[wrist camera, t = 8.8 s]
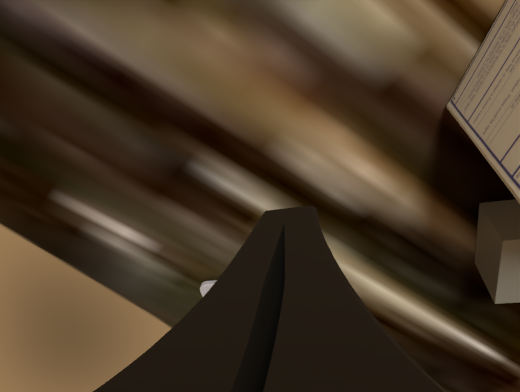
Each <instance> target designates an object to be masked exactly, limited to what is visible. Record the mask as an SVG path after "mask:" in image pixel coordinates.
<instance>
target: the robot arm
mask: <svg viewBox="0 0 520 392" xmlns="http://www.w3.org/2000/svg"><path fill="white" fill-rule="evenodd" d="M200 292H201V294H202V297H203V298H202V299H201V300H200V301H199V302H198V303H197V304H196V305H195V306H194V307H193V308H192V309H191V311H190V312H189V313H188V314H187V315H186V316H185V317H184V318H183V319H182V320H181V321H180V322H178V323H177V324H176V325H175V326H174V327H173V328H172V329H171V330H170V331H169V332H167V333H166V334H165V335H164V336H163V337H162V338H161V339H160V340H159V341H158V342H156V343H155V344H154V345H153V346H152V347H151V348H150V349H148V350H147V351H146V352H145V353H144V354H142V355H141V356H140V357H139V358H137V359H136V360H135V361H134V362H132V363H131V364H130V365H129V366H127V367H126V368H125V369H123V370H122V371H121V372H119V373H118V374H117V375H115V376H114V377H113V378H112V379H110V380H109V381H107V382H106V383H105V384H104V385H102V386H101V387H99V388H98V389H96V390H95V391H93V392H447V391H445V390H444V389H443V388H442V387H441V386H440V385H439V384H438V383H437V382H436V381H434V380H433V379H432V378H431V377H430V376H429V375H428V374H427V373H426V372H425V371H424V370H423V369H422V368H421V367H420V366H419V365H418V364H417V363H416V362H415V361H414V360H413V359H412V358H411V357H410V356H409V355H408V354H407V353H406V352H405V351H404V350H403V348H402V347H401V346H400V345H399V344H398V343H397V342H396V341H395V340H394V339H393V338H392V336H391V335H390V334H389V333H388V332H387V331H386V330H385V329H384V328H383V327H382V325H381V324H380V323H379V322H378V321H377V319H376V318H375V317H374V316H373V314H372V313H371V312H370V311H369V310H368V308H367V307H366V306H365V304H364V303H363V302H362V300H361V299H360V298H359V296H358V295H357V293H356V292H355V291H354V289H353V288H352V286H351V285H350V283H349V282H348V280H347V279H346V277H345V275H344V274H343V272H342V271H341V269H340V267H339V266H338V264H337V262H336V260H335V259H334V257H333V255H332V253H331V251H330V249H329V247H328V245H327V243H326V241H325V238H324V236H323V234H322V231H321V228H320V225H319V220H318V214H317V209H316V208H315V207H313V206H304V207H295V208H287V209H278V210H270V211H265V212H264V214H263V215H262V216H261V218H260V220H259V221H258V223H257V224H256V226H255V227H254V229H253V231H252V232H251V234H250V235H249V237H248V238H247V240H246V241H245V243H244V244H243V246H242V247H241V249H240V250H239V251H238V253H237V254H236V256H235V257H234V259H233V260H232V261H231V263H230V264H229V266H228V267H227V268H226V269H225V271H224V272H223V273H222V274H221V276H220V277H219V278H218V280H214V281H205V282H203V283H202V284H201V287H200Z"/></svg>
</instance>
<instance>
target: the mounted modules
mask: <svg viewBox="0 0 520 392" xmlns="http://www.w3.org/2000/svg"><path fill="white" fill-rule="evenodd" d="M474 263H475V265H476V267H477V269H478V271H479V273H480V275H481V277H482V279H483V281H484V283H485V285H486V287H487V289H488V291H489V293H490V295H491V297H492V299H493V301H494V303H495V304H499V303H515V302H520V204H519V203H518V201H517V200H516V199H513V200H504V201H495V202H486V203H479V214H478V226H477V238H476V249H475V261H474Z"/></svg>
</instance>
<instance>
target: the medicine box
mask: <svg viewBox="0 0 520 392" xmlns="http://www.w3.org/2000/svg"><path fill="white" fill-rule="evenodd" d="M446 107H447V109H448V110H449V111H450V113H451V114H452V115H453V117H454V118H455V119H456V120H457V122H458V123H459V124H460V126H461V127H462V128H463V129H464V131H465V132H466V133H467V134H468V136H469V137H470V139H471V140H472V141H473V142H474V144H475V145H476V146H477V148H478V149H479V151H480V152H481V153H482V155H483V156H484V157H485V159H486V160H487V161H488V163H489V164H490V165H491V167H492V168H493V169H494V170H495V172H496V173H497V174H498V176H499V177H500V178H501V180H502V181H503V182H504V184H505V185H506V186H507V188H508V189H509V190H510V192H511V193H512V194H513V196H514V197H515V198H516V200H517V201H518V203H519V204H520V0H506V2H505V3H504V5H503V7H502V9H501V11H500V12H499V14H498V16H497V18H496V19H495V21H494V23H493V25H492V27H491V29H490V30H489V32H488V34H487V36H486V38H485V39H484V41H483V43H482V45H481V47H480V48H479V50H478V52H477V54H476V55H475V57H474V59H473V61H472V62H471V64H470V66H469V68H468V70H467V71H466V73H465V75H464V77H463V79H462V80H461V82H460V84H459V86H458V88H457V89H456V91H455V93H454V95H453V96H452V98H451V100H450V101H449V102H448V104H447V106H446Z"/></svg>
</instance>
